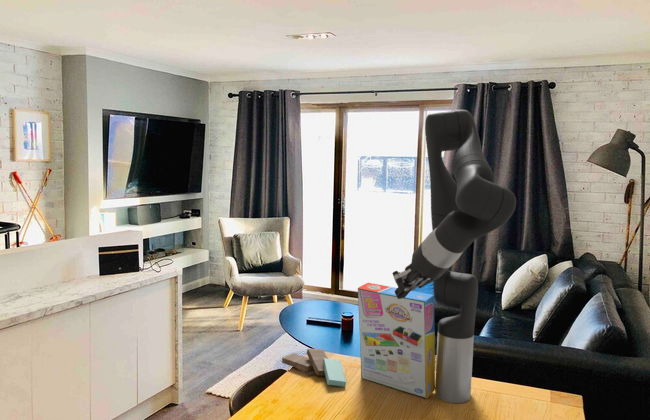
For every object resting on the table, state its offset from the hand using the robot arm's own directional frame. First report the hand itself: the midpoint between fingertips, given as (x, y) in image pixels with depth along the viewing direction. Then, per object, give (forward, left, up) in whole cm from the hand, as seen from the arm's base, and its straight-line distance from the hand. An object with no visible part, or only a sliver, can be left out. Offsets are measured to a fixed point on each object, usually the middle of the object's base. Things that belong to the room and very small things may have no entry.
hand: (398, 295), depth 119 cm
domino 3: (-11, -29, -31) cm, 44 cm away
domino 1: (-12, -34, -30) cm, 47 cm away
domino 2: (-11, -32, -32) cm, 47 cm away
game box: (-20, -11, -32) cm, 39 cm away
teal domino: (-8, -22, -31) cm, 39 cm away
